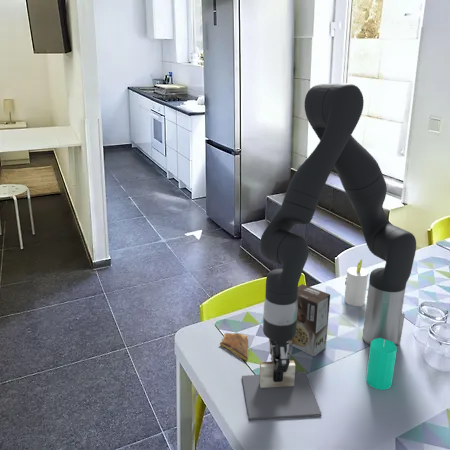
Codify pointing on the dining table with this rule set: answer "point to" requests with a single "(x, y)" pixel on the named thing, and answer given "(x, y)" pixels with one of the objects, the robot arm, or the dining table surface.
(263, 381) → the slab
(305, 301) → the cookie box
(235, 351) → the shard
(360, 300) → the candle
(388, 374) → the candle
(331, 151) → the robot arm
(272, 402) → the mat
